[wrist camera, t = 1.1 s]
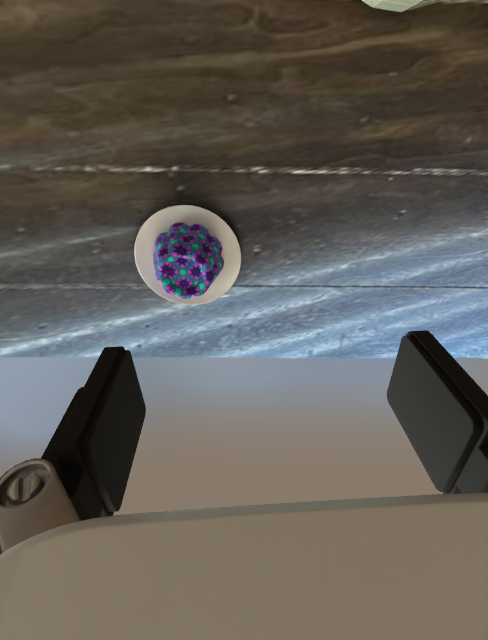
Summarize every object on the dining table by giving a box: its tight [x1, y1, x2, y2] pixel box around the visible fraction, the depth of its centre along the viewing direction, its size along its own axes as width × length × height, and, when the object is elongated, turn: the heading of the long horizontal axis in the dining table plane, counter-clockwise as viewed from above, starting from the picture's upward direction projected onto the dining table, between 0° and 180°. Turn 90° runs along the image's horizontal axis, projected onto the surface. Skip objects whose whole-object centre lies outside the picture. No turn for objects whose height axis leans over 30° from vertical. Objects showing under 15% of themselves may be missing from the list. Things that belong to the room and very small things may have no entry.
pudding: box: [134, 205, 241, 305], centre depth 36 cm, size 12×12×5 cm
